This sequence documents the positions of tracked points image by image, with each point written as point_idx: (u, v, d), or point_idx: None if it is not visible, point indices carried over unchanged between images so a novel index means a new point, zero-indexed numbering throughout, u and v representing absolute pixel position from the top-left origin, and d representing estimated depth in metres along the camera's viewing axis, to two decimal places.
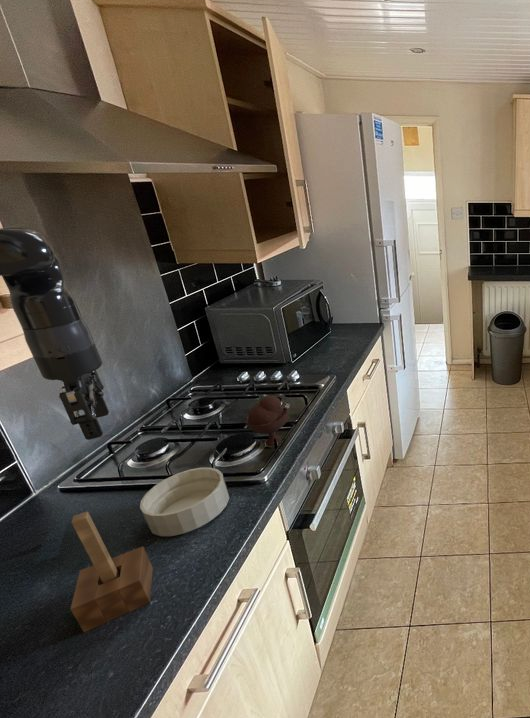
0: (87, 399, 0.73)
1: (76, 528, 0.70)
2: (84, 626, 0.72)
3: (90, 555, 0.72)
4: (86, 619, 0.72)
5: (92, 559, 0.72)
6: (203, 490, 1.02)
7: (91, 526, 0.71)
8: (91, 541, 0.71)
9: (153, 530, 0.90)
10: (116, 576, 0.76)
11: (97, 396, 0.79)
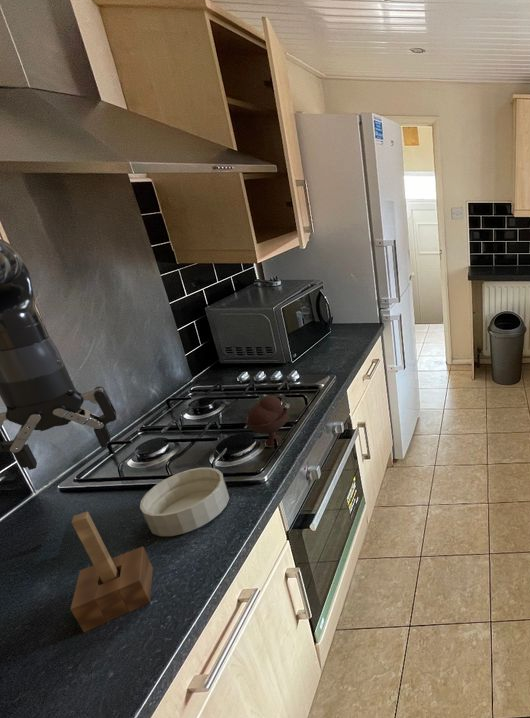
0: None
1: (76, 528, 0.70)
2: (84, 626, 0.72)
3: (90, 555, 0.72)
4: (86, 619, 0.72)
5: (92, 559, 0.72)
6: (203, 490, 1.02)
7: (91, 526, 0.71)
8: (91, 541, 0.71)
9: (153, 530, 0.90)
10: (116, 576, 0.76)
11: None
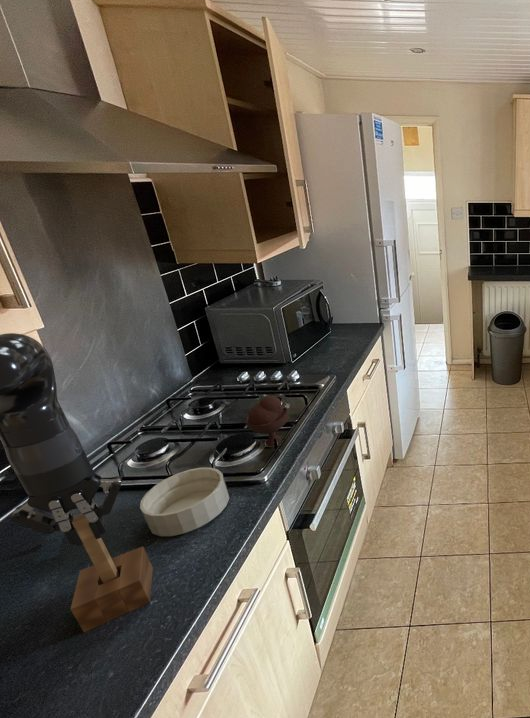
0: (52, 512, 0.67)
1: (76, 528, 0.70)
2: (84, 626, 0.72)
3: (90, 555, 0.72)
4: (86, 619, 0.72)
5: (92, 559, 0.72)
6: (203, 490, 1.02)
7: None
8: (91, 541, 0.72)
9: (153, 530, 0.90)
10: (116, 576, 0.76)
11: None
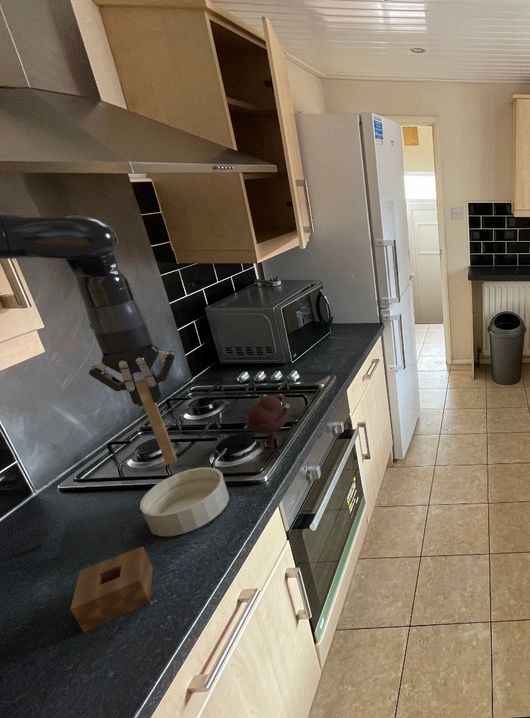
0: None
1: (138, 390, 0.83)
2: (84, 626, 0.72)
3: (149, 416, 0.86)
4: (86, 619, 0.72)
5: (150, 420, 0.86)
6: (203, 490, 1.02)
7: None
8: (150, 404, 0.85)
9: (153, 530, 0.90)
10: (168, 440, 0.89)
11: None
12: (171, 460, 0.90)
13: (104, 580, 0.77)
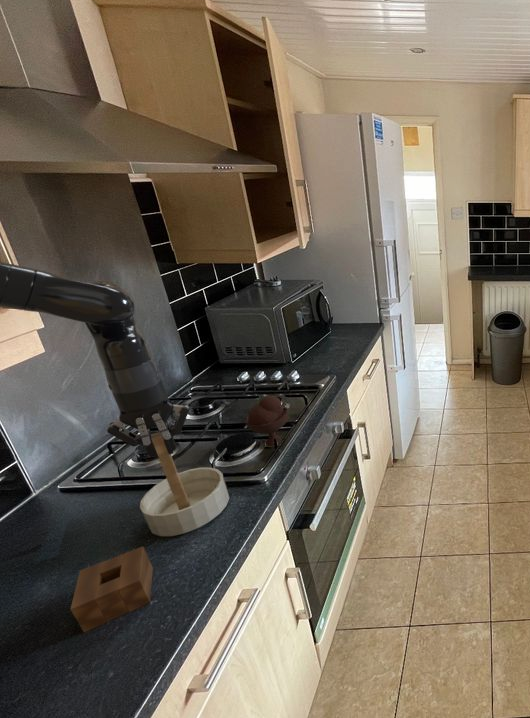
0: (137, 428, 0.84)
1: (154, 443, 0.86)
2: (84, 626, 0.72)
3: (164, 468, 0.88)
4: (86, 619, 0.72)
5: (165, 471, 0.89)
6: (203, 490, 1.02)
7: None
8: (165, 456, 0.88)
9: (153, 530, 0.90)
10: (182, 488, 0.92)
11: None
12: (185, 507, 0.93)
13: (104, 580, 0.77)
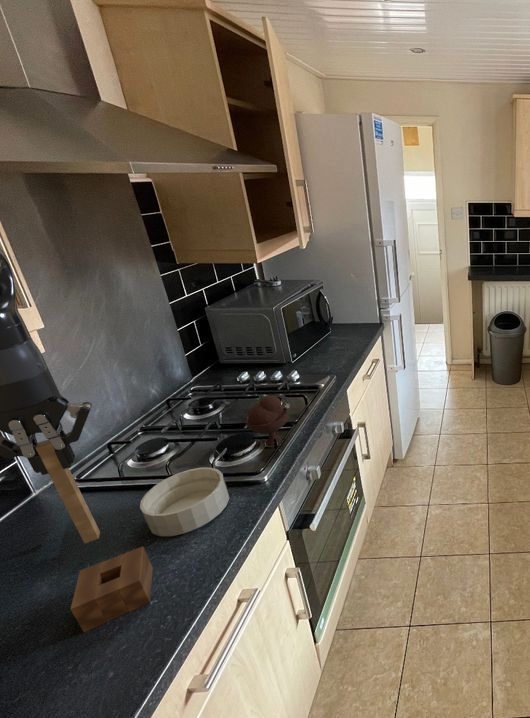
0: None
1: (41, 455, 0.64)
2: (84, 626, 0.72)
3: (57, 486, 0.67)
4: (86, 619, 0.72)
5: (59, 491, 0.67)
6: (203, 490, 1.02)
7: None
8: (58, 471, 0.66)
9: (153, 530, 0.90)
10: (86, 512, 0.70)
11: None
12: (91, 537, 0.72)
13: (104, 580, 0.77)
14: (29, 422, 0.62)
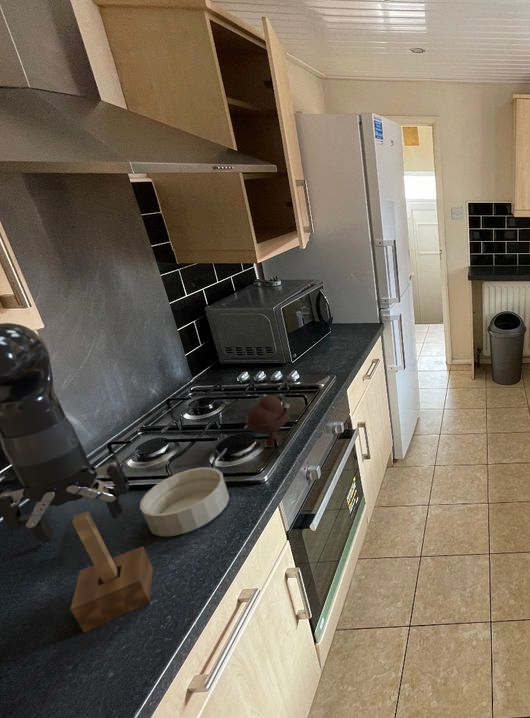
0: None
1: (77, 528, 0.70)
2: (84, 626, 0.72)
3: (91, 555, 0.72)
4: (86, 619, 0.72)
5: (92, 559, 0.72)
6: (203, 490, 1.02)
7: (92, 526, 0.71)
8: (92, 541, 0.71)
9: (153, 530, 0.90)
10: (116, 576, 0.76)
11: None
12: None
13: None
14: (59, 496, 0.67)
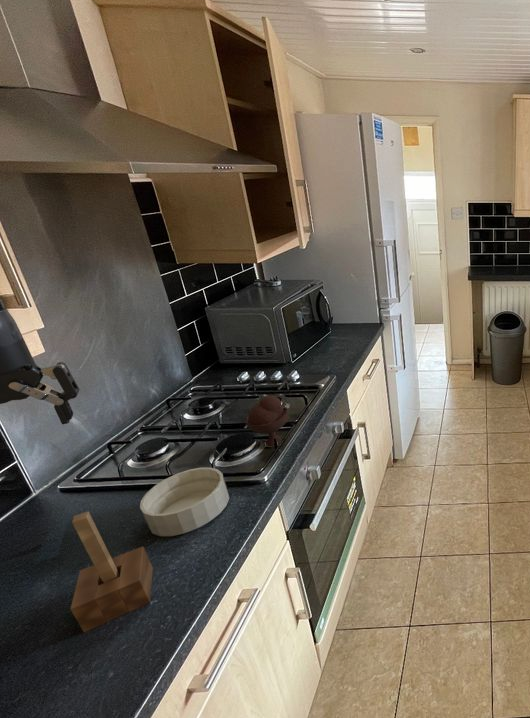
0: None
1: (77, 528, 0.70)
2: (84, 626, 0.72)
3: (91, 555, 0.72)
4: (86, 619, 0.72)
5: (92, 559, 0.72)
6: (203, 490, 1.02)
7: (92, 526, 0.71)
8: (92, 541, 0.71)
9: (153, 530, 0.90)
10: (116, 576, 0.76)
11: None
12: None
13: None
14: (1, 393, 0.65)
